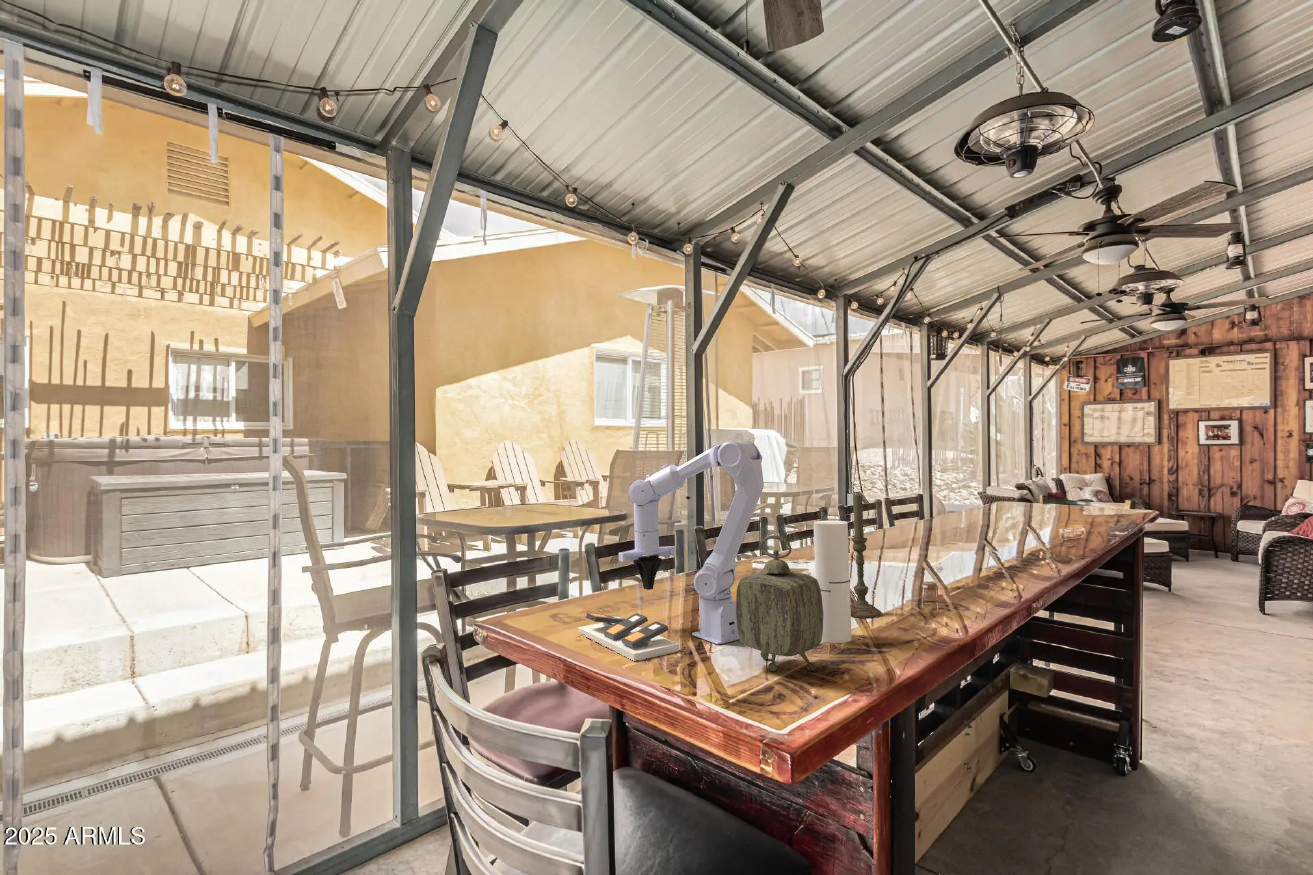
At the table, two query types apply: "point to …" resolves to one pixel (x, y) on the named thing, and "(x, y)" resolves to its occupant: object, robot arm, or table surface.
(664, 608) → the table surface
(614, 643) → the switch strip
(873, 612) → the candlestick holder
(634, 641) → the rocker near
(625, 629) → the rocker middle
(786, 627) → the tabletop clock
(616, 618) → the rocker far
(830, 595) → the cylindrical container
